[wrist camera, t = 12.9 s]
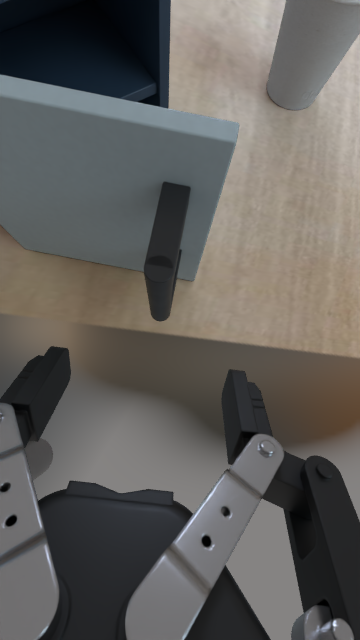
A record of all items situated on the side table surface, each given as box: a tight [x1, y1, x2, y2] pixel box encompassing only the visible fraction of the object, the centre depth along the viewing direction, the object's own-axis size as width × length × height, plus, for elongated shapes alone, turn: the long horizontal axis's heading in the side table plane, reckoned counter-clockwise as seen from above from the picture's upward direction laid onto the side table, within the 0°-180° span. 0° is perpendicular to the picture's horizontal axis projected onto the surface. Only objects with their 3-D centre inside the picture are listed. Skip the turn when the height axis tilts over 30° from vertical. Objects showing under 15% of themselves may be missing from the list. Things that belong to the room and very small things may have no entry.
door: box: [0, 75, 239, 321], centre depth 18 cm, size 6×16×15 cm, turn 80°
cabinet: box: [0, 0, 171, 108], centre depth 20 cm, size 11×16×16 cm
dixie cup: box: [267, 0, 360, 110], centre depth 27 cm, size 8×8×10 cm
